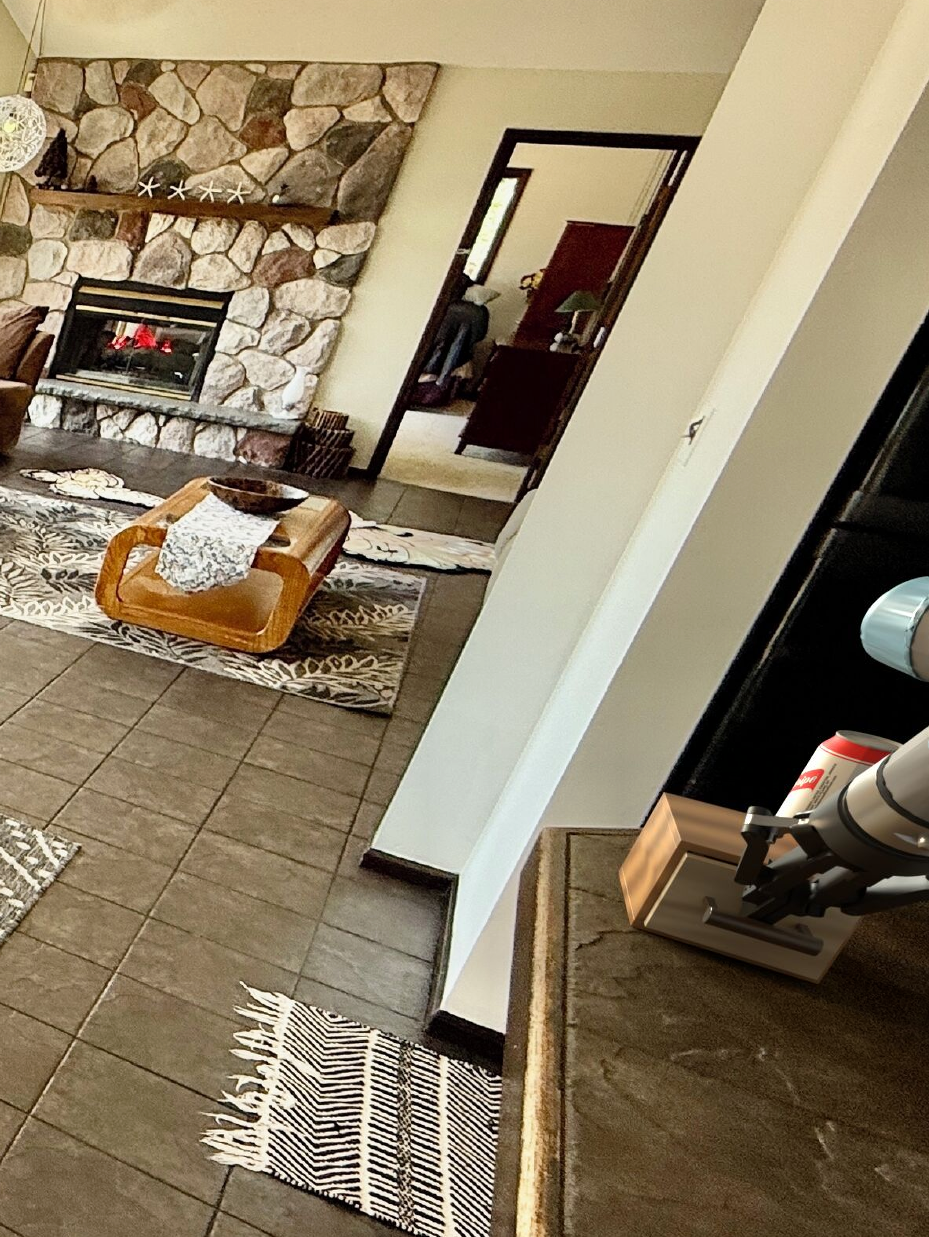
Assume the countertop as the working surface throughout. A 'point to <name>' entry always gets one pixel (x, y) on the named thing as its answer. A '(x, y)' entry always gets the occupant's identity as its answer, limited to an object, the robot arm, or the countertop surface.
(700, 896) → the drawer
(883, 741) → the beer can
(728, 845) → the cabinet
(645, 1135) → the countertop surface
